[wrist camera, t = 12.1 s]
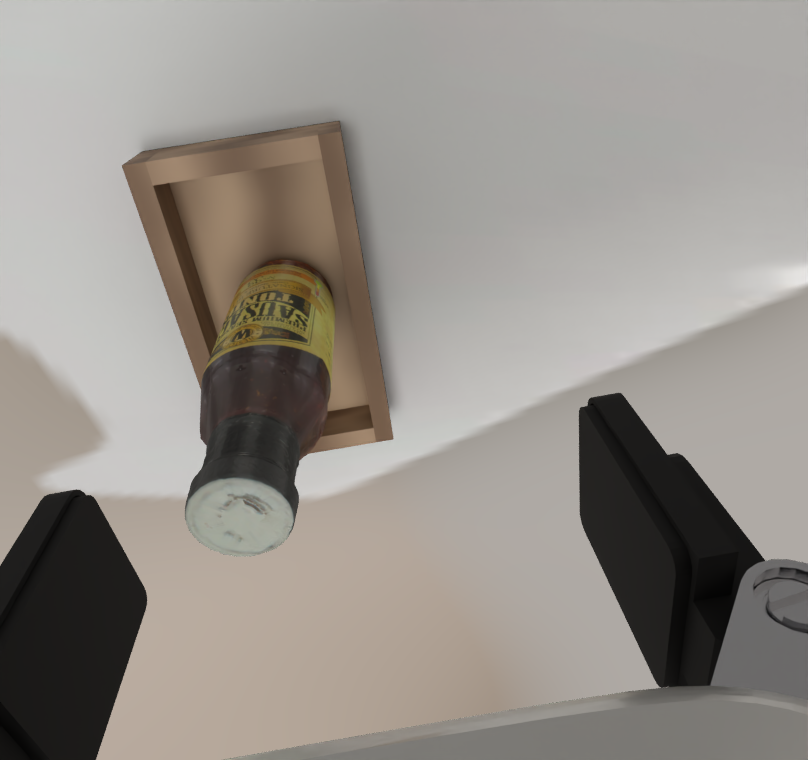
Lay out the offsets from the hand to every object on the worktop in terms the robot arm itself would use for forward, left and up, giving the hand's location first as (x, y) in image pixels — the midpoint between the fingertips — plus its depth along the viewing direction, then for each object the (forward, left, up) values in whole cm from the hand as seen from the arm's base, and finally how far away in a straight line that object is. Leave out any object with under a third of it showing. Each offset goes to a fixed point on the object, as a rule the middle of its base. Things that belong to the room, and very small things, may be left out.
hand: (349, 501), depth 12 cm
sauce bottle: (+5, +7, -28) cm, 30 cm away
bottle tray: (+5, +7, -29) cm, 30 cm away
